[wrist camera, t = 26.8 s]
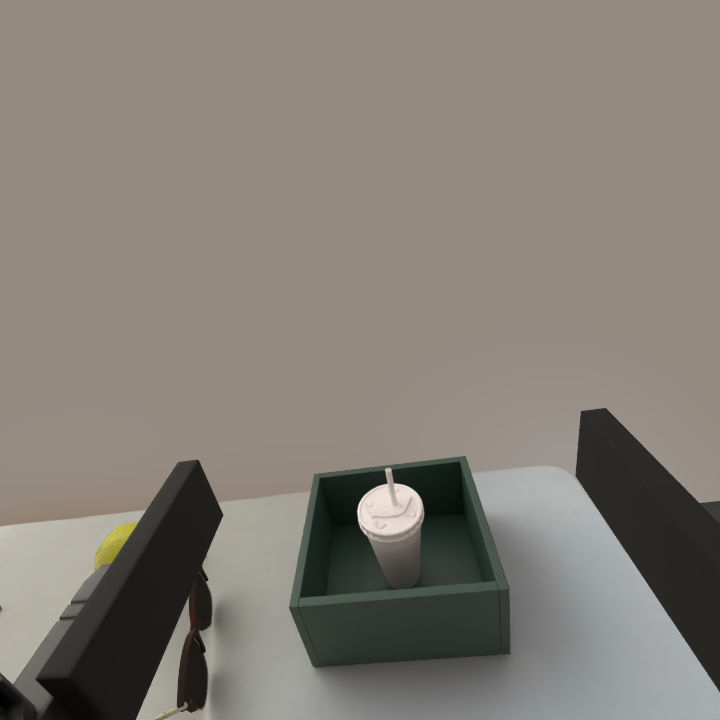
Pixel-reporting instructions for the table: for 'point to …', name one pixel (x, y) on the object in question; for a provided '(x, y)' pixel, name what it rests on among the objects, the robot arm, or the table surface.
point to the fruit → (113, 545)
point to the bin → (374, 594)
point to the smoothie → (394, 530)
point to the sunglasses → (194, 652)
